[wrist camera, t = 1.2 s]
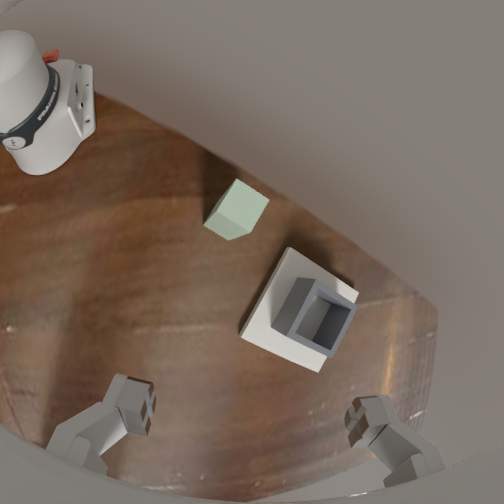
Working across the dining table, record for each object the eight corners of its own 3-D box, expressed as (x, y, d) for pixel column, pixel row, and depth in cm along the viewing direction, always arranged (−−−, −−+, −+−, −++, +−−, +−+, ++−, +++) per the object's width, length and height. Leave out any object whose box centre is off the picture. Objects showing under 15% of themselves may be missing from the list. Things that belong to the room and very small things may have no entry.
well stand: (314, 369, 47) (336, 384, 40) (238, 335, 43) (252, 348, 36) (353, 292, 50) (380, 295, 42) (286, 247, 46) (308, 244, 39)
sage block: (228, 240, 43) (250, 232, 32) (203, 225, 42) (216, 211, 31) (242, 215, 44) (269, 199, 32) (218, 200, 43) (236, 178, 31)
